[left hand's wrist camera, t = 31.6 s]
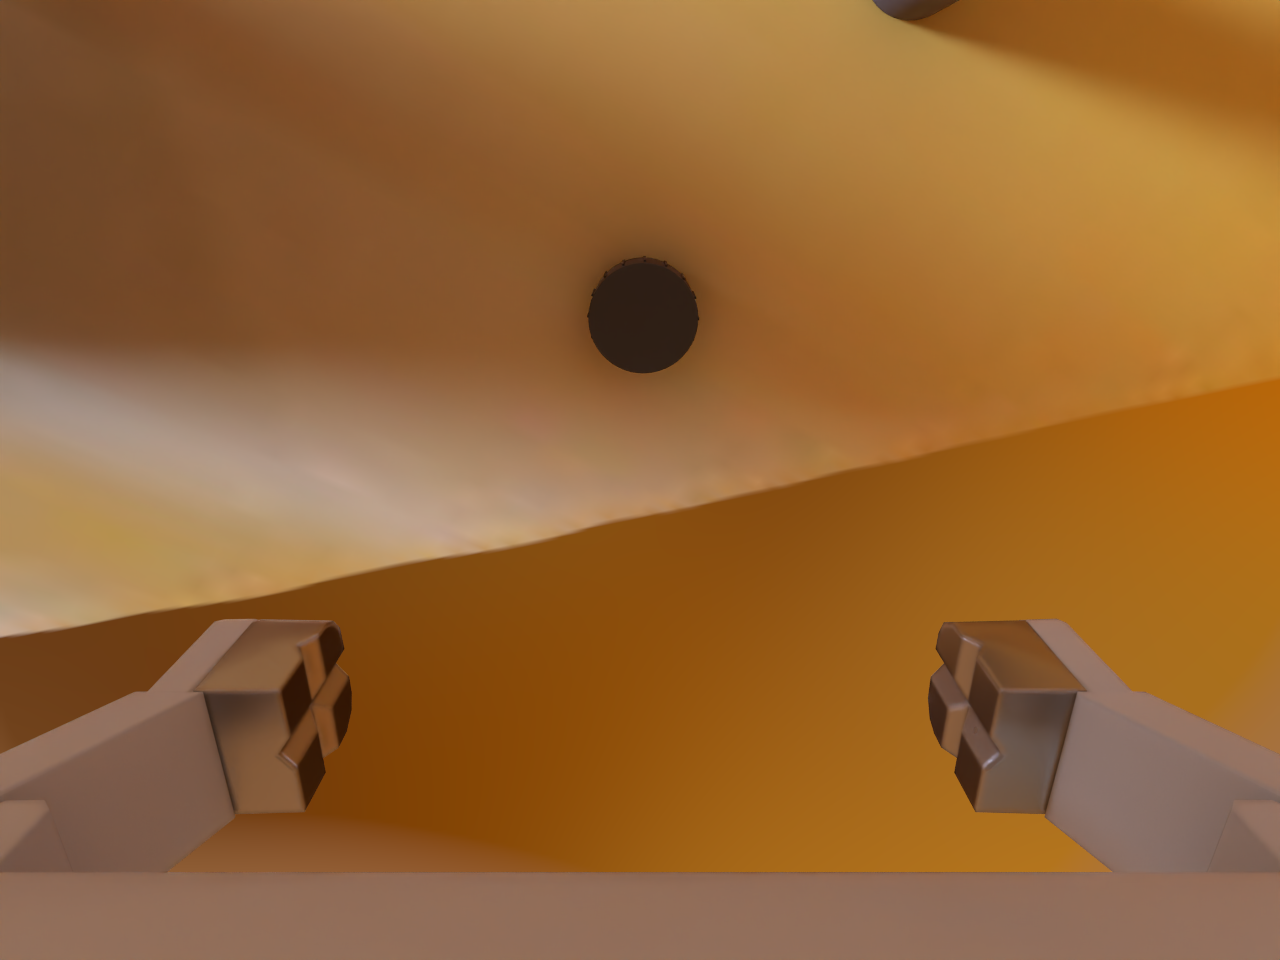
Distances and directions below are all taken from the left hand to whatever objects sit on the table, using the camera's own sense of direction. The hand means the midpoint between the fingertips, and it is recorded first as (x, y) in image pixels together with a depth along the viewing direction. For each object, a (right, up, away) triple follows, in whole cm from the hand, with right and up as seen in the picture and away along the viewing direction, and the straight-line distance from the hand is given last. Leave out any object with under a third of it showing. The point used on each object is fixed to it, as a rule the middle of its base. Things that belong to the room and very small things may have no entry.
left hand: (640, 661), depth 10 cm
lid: (0, +10, +25) cm, 27 cm away
